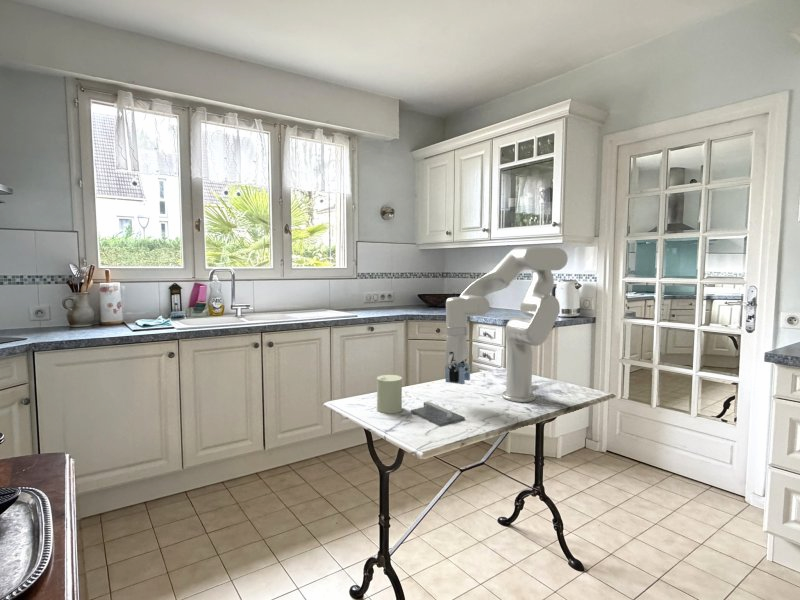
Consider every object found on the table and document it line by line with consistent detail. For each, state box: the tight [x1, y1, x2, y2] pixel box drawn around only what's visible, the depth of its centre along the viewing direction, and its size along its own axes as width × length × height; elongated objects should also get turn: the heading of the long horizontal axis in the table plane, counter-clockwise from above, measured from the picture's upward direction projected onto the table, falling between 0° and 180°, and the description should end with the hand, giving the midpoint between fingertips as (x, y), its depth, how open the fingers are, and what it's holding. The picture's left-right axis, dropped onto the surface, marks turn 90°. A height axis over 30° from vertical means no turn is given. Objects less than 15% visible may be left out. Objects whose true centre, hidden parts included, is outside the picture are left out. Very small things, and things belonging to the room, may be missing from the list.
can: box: [376, 374, 403, 414], centre depth 162 cm, size 9×9×12 cm
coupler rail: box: [410, 401, 466, 427], centre depth 155 cm, size 11×16×3 cm
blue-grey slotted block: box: [444, 361, 471, 385], centre depth 165 cm, size 6×7×6 cm
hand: (457, 378), depth 165 cm, fingers closed on blue-grey slotted block, 6 cm apart
